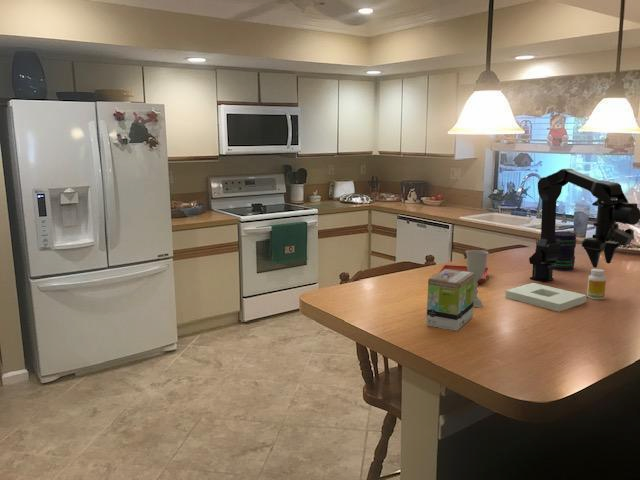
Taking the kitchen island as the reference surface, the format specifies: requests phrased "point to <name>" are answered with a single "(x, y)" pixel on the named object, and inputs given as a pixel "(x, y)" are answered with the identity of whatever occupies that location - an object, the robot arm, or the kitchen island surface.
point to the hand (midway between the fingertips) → (601, 265)
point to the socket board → (546, 296)
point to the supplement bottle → (596, 284)
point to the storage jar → (565, 251)
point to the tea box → (450, 299)
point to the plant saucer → (464, 268)
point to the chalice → (476, 269)
